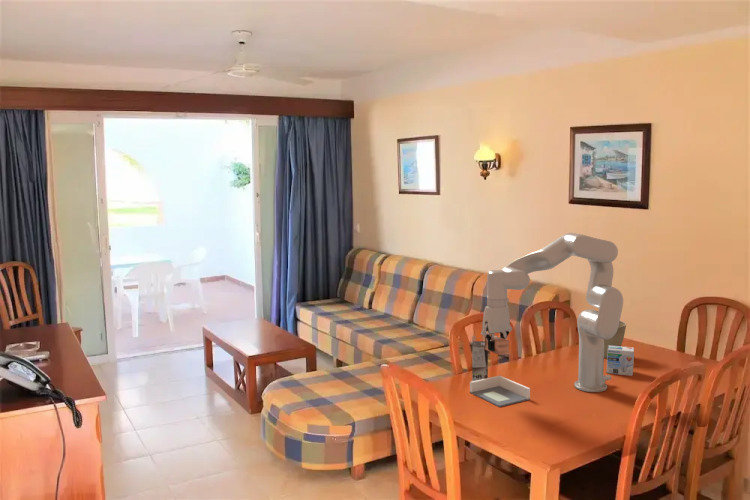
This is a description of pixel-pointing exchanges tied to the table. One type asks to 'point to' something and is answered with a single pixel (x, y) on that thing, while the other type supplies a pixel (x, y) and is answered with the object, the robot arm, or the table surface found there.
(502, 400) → the corner arena
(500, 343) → the block
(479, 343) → the coffee box
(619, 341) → the plant pot
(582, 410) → the table surface
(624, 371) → the light bulb box
